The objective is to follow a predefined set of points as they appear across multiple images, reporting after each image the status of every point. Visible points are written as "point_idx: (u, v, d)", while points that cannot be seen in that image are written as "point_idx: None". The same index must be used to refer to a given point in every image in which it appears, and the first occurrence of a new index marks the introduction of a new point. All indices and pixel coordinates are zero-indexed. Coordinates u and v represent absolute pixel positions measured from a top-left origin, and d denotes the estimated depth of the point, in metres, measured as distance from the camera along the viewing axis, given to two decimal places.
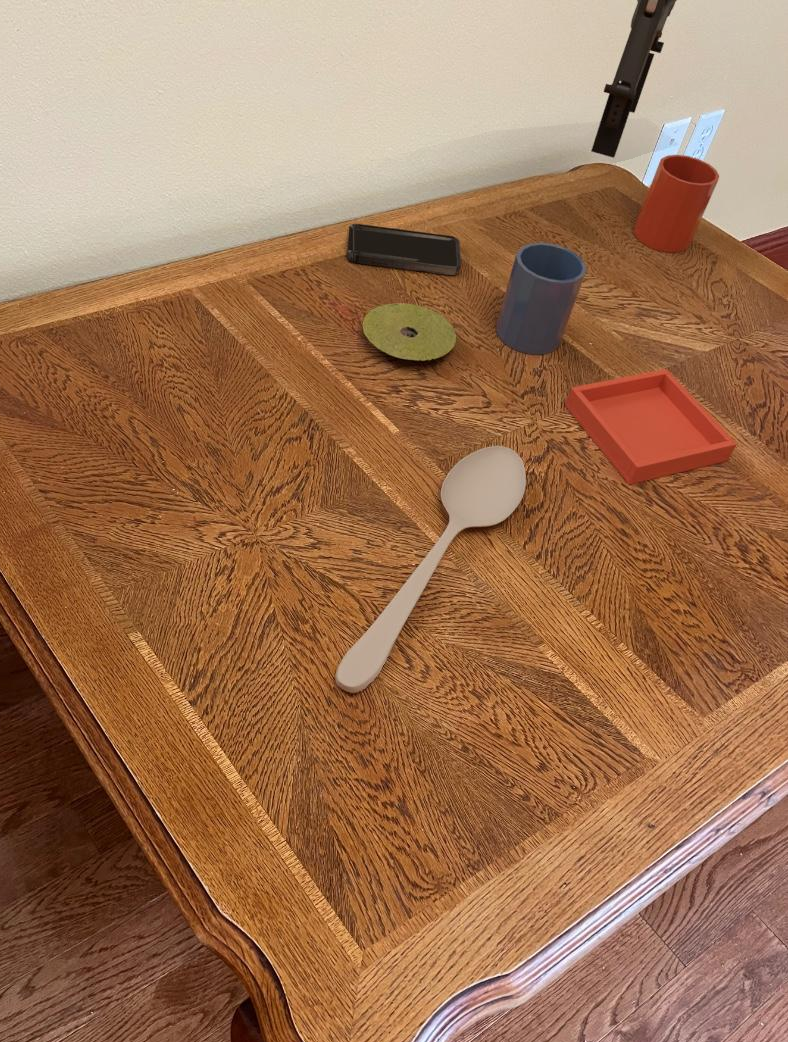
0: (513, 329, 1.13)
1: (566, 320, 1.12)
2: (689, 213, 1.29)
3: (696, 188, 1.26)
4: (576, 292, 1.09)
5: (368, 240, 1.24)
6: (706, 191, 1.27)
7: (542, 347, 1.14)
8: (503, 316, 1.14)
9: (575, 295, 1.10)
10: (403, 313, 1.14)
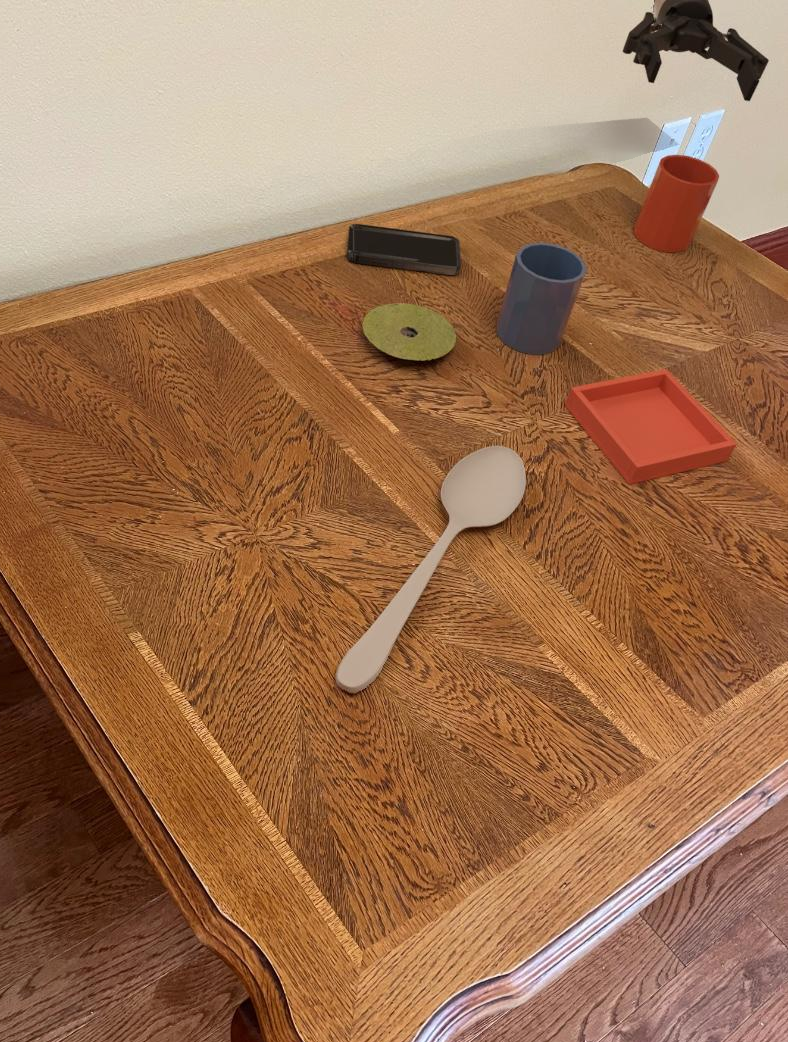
0: (513, 329, 1.13)
1: (566, 320, 1.12)
2: (689, 213, 1.29)
3: (696, 188, 1.26)
4: (576, 292, 1.09)
5: (368, 240, 1.24)
6: (706, 191, 1.27)
7: (542, 347, 1.14)
8: (503, 316, 1.14)
9: (575, 295, 1.10)
10: (403, 313, 1.14)
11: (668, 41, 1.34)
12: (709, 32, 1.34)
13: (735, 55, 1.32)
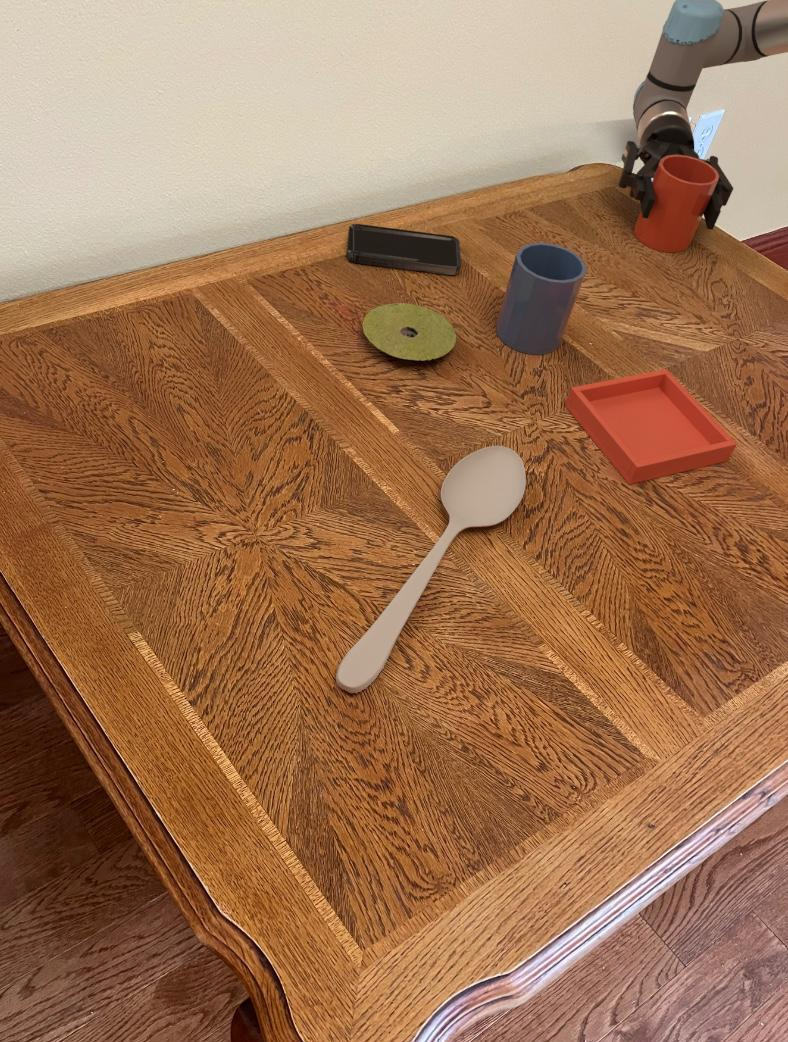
0: (513, 329, 1.13)
1: (566, 320, 1.12)
2: (689, 213, 1.29)
3: (696, 188, 1.26)
4: (576, 292, 1.09)
5: (368, 240, 1.24)
6: (706, 191, 1.27)
7: (542, 347, 1.14)
8: (503, 316, 1.14)
9: (575, 295, 1.10)
10: (403, 313, 1.14)
11: (655, 169, 1.36)
12: None
13: None
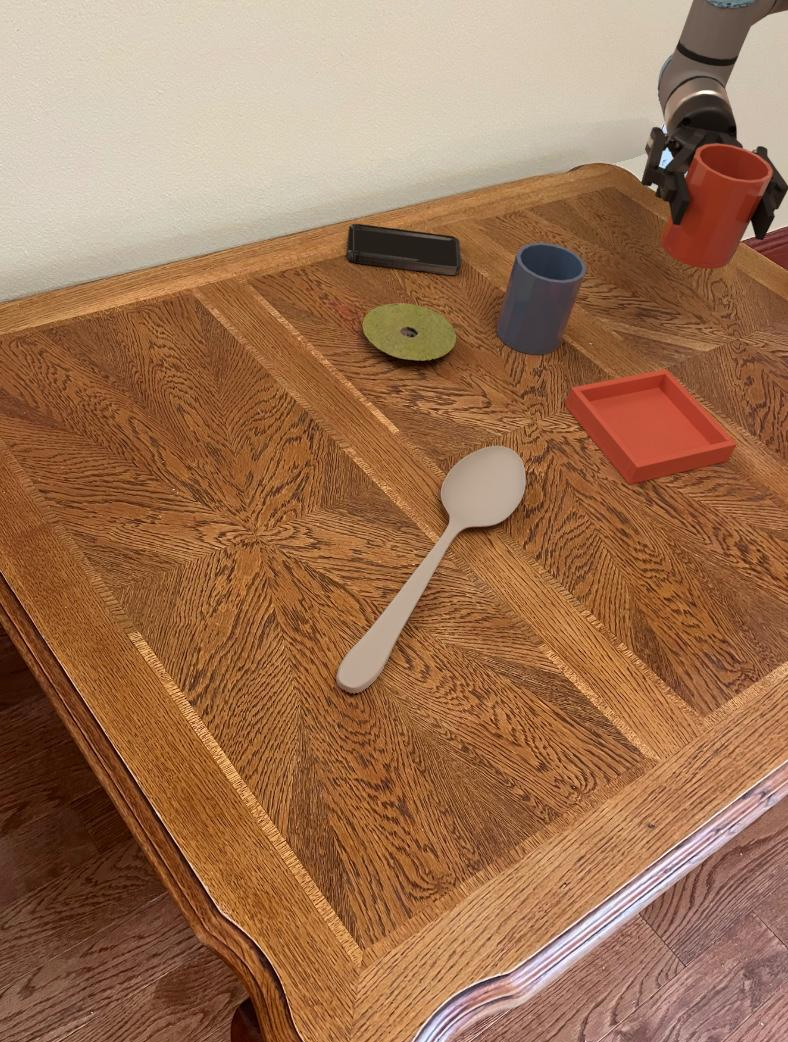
0: (513, 329, 1.13)
1: (566, 320, 1.12)
2: (734, 219, 1.00)
3: (744, 186, 0.97)
4: (576, 292, 1.09)
5: (368, 240, 1.24)
6: (756, 190, 0.98)
7: (542, 347, 1.14)
8: (503, 316, 1.14)
9: (575, 295, 1.10)
10: (403, 313, 1.14)
11: (688, 163, 1.07)
12: None
13: None
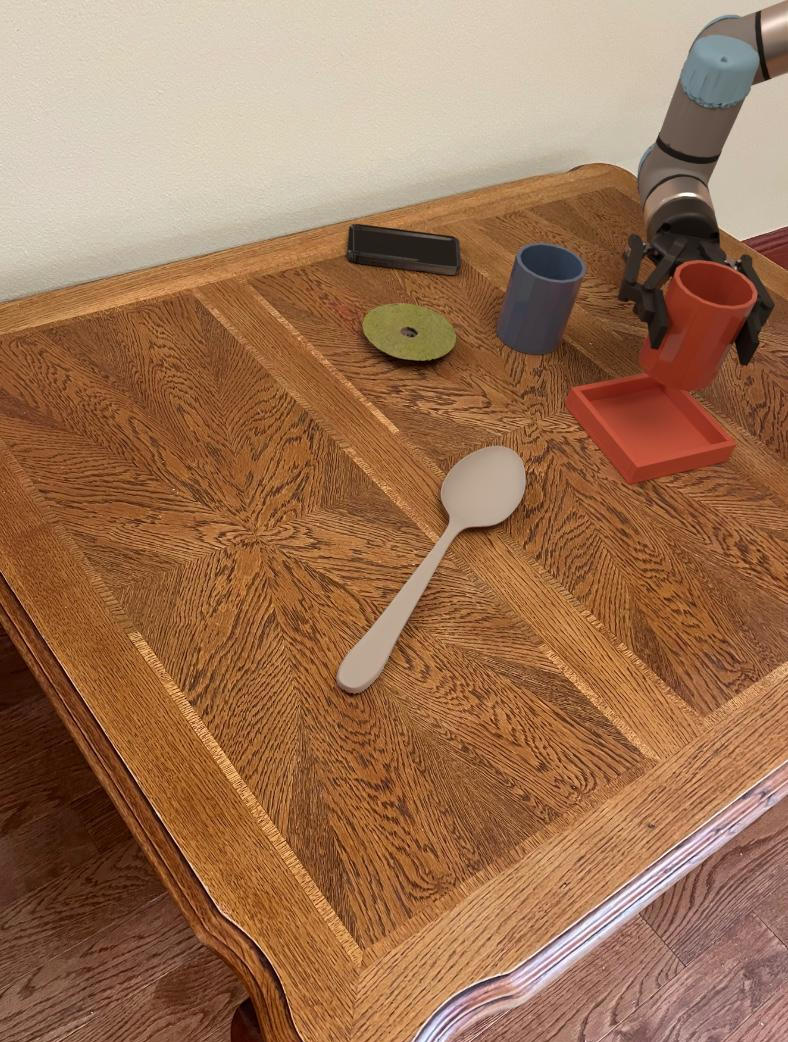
0: (513, 329, 1.13)
1: (566, 320, 1.12)
2: (716, 343, 0.93)
3: (726, 312, 0.90)
4: (576, 292, 1.09)
5: (368, 240, 1.24)
6: (740, 316, 0.91)
7: (542, 347, 1.14)
8: (503, 316, 1.14)
9: (575, 295, 1.10)
10: (403, 313, 1.14)
11: (668, 274, 1.00)
12: (709, 259, 1.00)
13: None
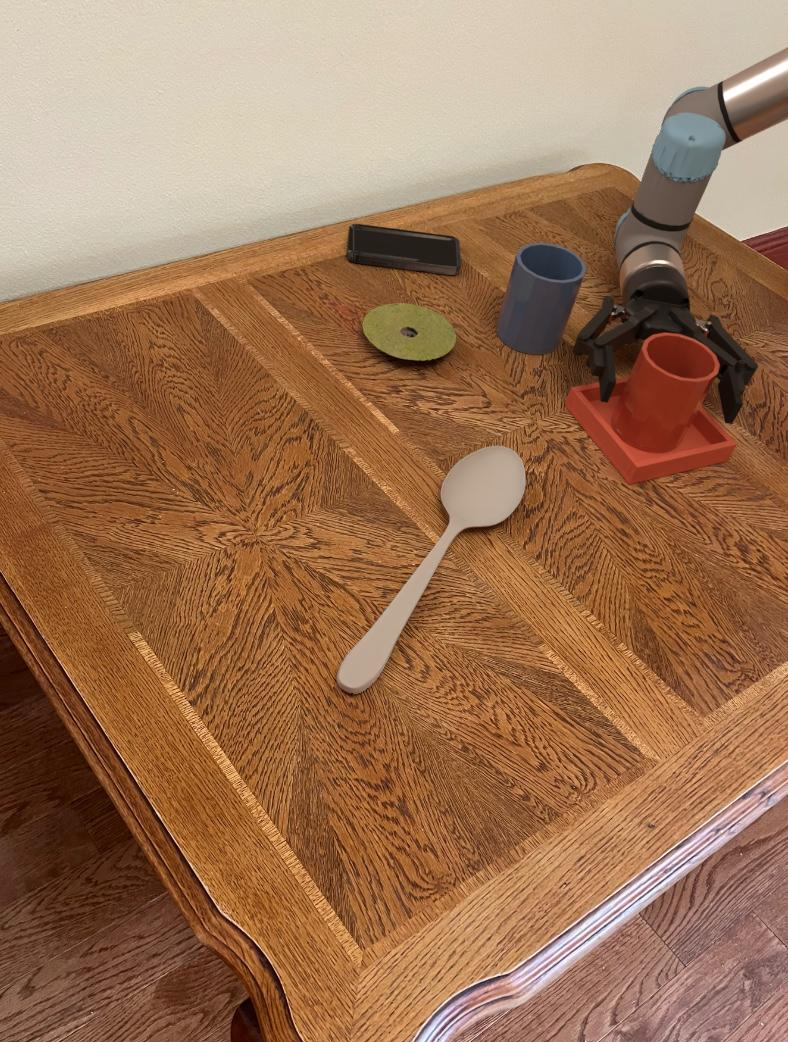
0: (513, 329, 1.13)
1: (566, 320, 1.12)
2: (681, 412, 1.00)
3: (690, 385, 0.97)
4: (576, 292, 1.09)
5: (368, 240, 1.24)
6: (703, 387, 0.98)
7: (542, 347, 1.14)
8: (503, 316, 1.14)
9: (575, 295, 1.10)
10: (403, 313, 1.14)
11: (631, 336, 1.07)
12: (683, 325, 1.07)
13: None
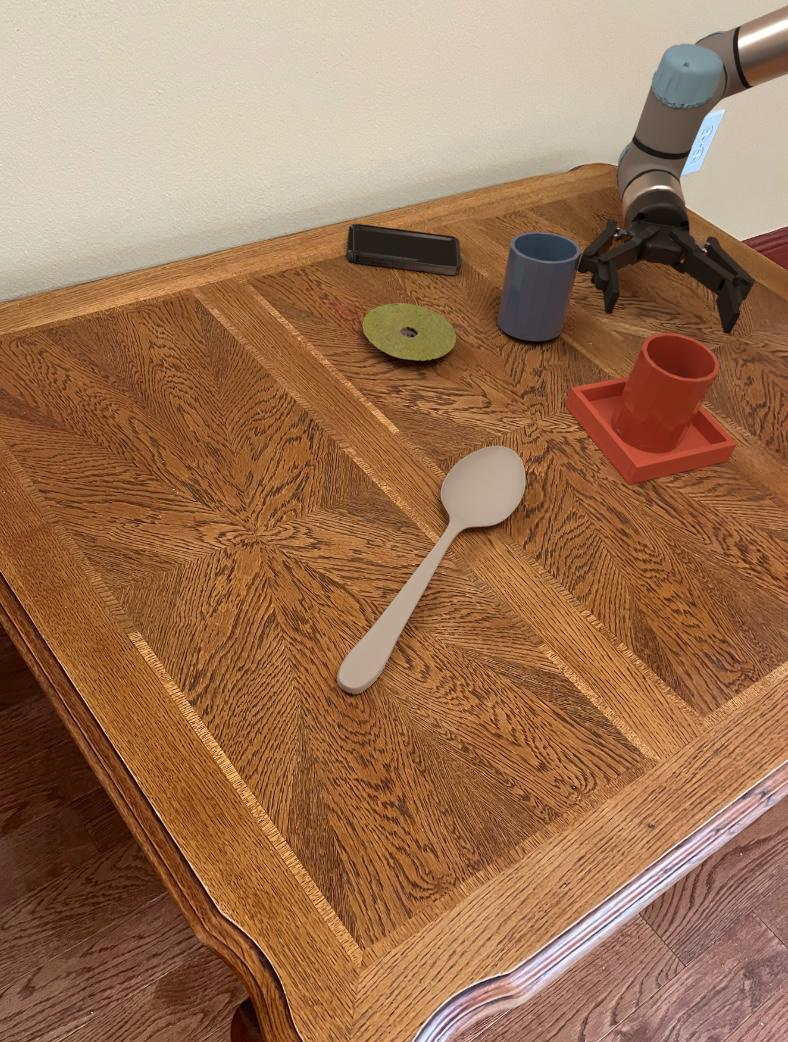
0: (521, 320, 1.13)
1: (569, 300, 1.13)
2: (681, 412, 1.00)
3: (690, 385, 0.97)
4: (576, 270, 1.11)
5: (368, 240, 1.24)
6: (703, 387, 0.98)
7: (552, 331, 1.14)
8: (507, 310, 1.14)
9: (575, 273, 1.11)
10: (403, 313, 1.14)
11: (634, 255, 1.12)
12: (683, 244, 1.12)
13: (714, 274, 1.10)
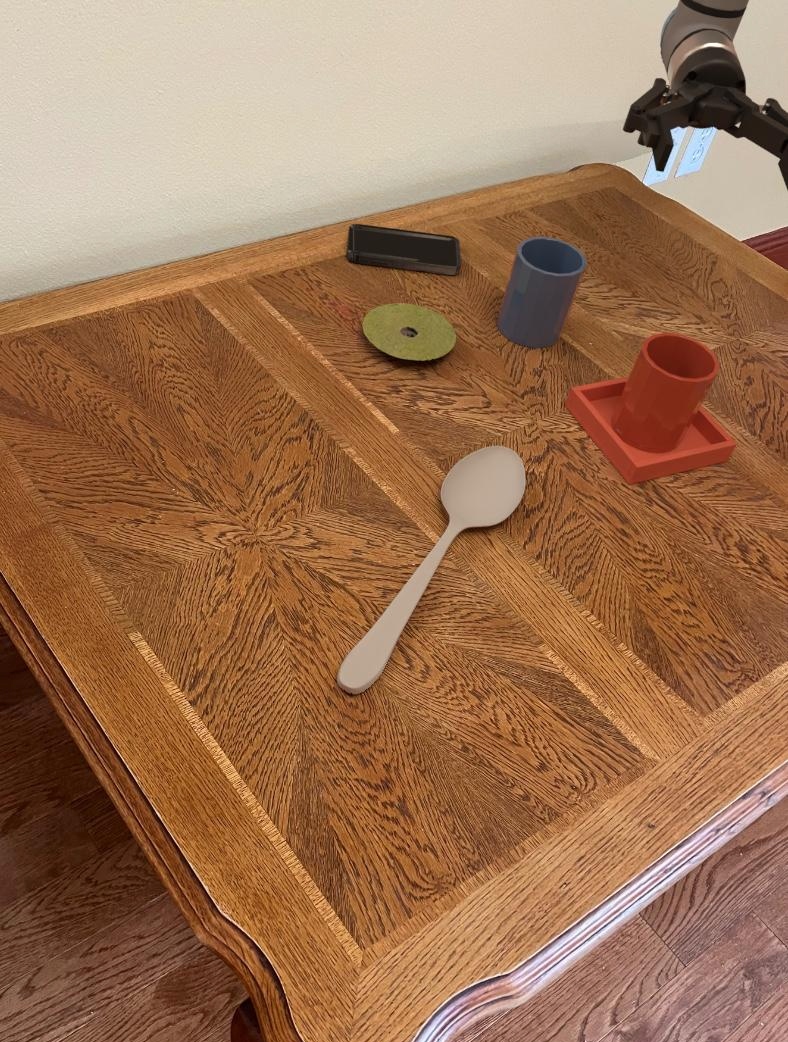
0: (521, 326, 1.13)
1: (570, 310, 1.14)
2: (681, 412, 1.00)
3: (690, 385, 0.97)
4: (580, 282, 1.11)
5: (368, 240, 1.24)
6: (703, 387, 0.98)
7: (550, 339, 1.15)
8: (508, 315, 1.14)
9: (579, 285, 1.11)
10: (403, 313, 1.14)
11: (685, 115, 1.01)
12: (740, 103, 1.00)
13: (776, 133, 0.98)
